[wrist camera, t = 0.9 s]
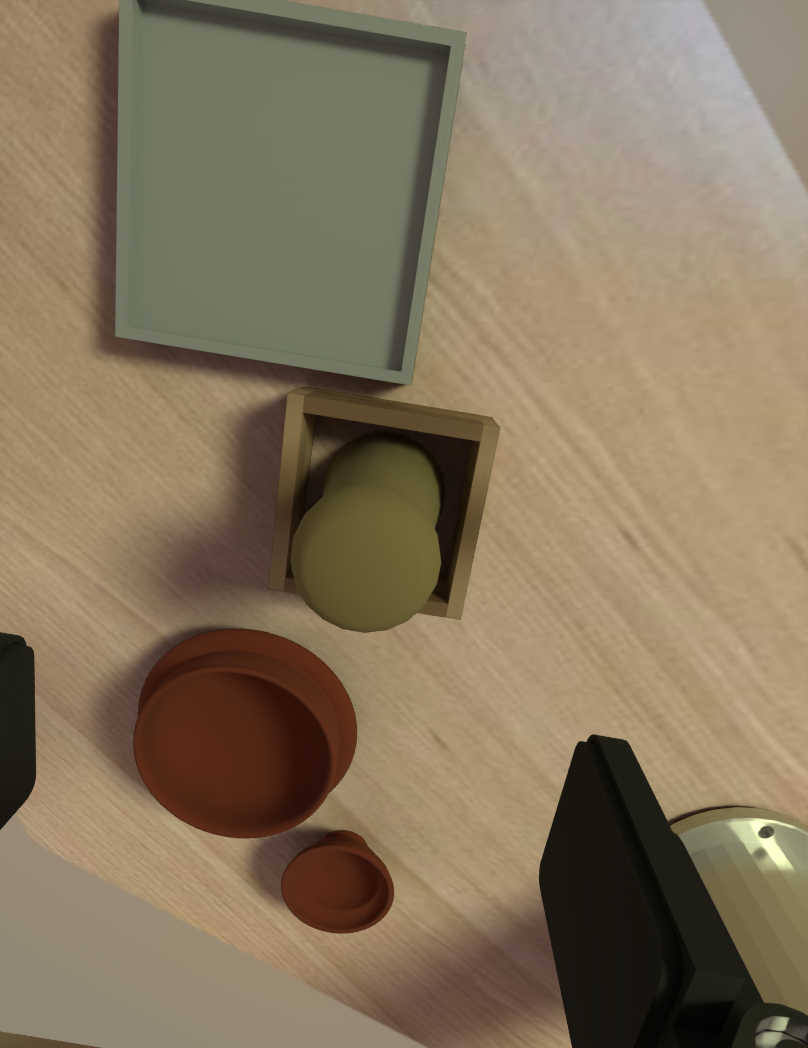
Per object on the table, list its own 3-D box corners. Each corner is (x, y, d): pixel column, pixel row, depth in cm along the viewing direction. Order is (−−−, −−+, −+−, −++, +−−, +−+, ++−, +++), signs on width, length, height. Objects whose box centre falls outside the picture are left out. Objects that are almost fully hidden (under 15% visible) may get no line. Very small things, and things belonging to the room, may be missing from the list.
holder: (457, 589, 31) (460, 619, 28) (285, 562, 31) (268, 589, 28) (491, 417, 28) (500, 427, 25) (304, 386, 28) (287, 393, 25)
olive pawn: (309, 528, 30) (247, 628, 20) (343, 414, 29) (295, 459, 18) (421, 565, 31) (419, 682, 20) (462, 455, 29) (483, 522, 19)
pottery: (300, 579, 32) (281, 616, 27) (453, 855, 37) (456, 923, 32) (115, 658, 33) (70, 705, 29) (285, 912, 38) (268, 982, 34)
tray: (411, 382, 28) (410, 385, 26) (136, 336, 28) (115, 336, 26) (463, 56, 24) (466, 32, 22) (144, 1, 24) (119, -28, 22)
